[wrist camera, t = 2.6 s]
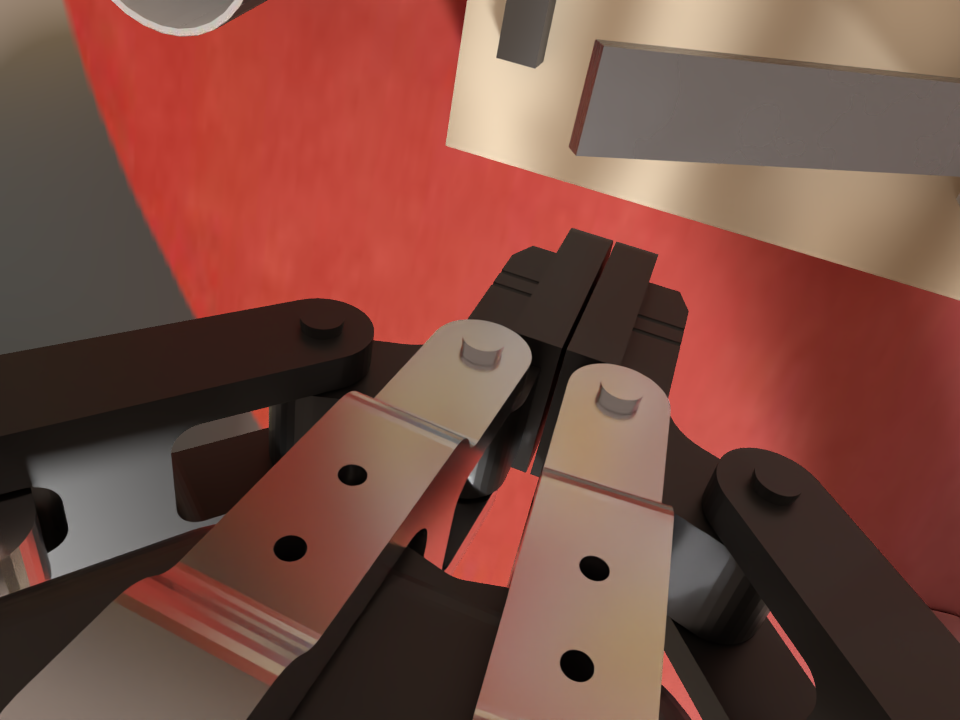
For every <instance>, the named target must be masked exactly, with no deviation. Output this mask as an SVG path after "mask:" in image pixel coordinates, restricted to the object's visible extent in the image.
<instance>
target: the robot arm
mask: <svg viewBox="0 0 960 720" xmlns="http://www.w3.org/2000/svg"><path fill="white" fill-rule="evenodd" d="M612 245H613V240H609V239H606V238H603V237H600V236H596V235H593V234H590V233H587V232H583V231H580V230H577V229H574V228H571V230H570V231H569V233H568V235H567V236H566V238H565V240H564V241H563V243H562V245H561V246H560V248H559V250H558V251H557V253H554V252H551V251H548V250H545V249H542V248H538V247H535V246H532V247H529V248H527V249H525V250H523V251H520V252H518V253H516V254H514V255H512V256H511V258H510V259H509V261H508V262H507V263H506V265H505V266H504V268H503V269H502V272H501V273H500V274H499V275H498V276H497V278H496V279H495V281H494V283H493V285H491V286H490V288H489V289H488V291H487V292H486V294H485V295H484V296H483V298H482V299H481V301H480V302H479V304H478V305H477V306H476V308H475V309H474V311H473V312H472V314H471V315H470V316H469V318H468V319H467V320H458V321H454V322H451V323H448V324H446V325H444V326H442V327H440V328H439V329H438V330H437V331H436V332H435V333H434V334H433V335H432V336H431V337H430V338H429V340H428V341H427V342H426V343H425V344H424V345H408V344H398V343H390V342H383V341H375V340H373V337H374V327H373V324H372V322H371V320H370V319H369V317H368V316H367V315H366V314H365V313H363V312H362V311H361V310H359V309H358V308H356V307H354V306H352V305H349V304H347V303H344V302H340V301H336V300H331V299H320V298H316V299H304V300H297V301H292V302H287V303H281V304H276V305H270V306H265V307H259V308H254V309H248V310H243V311H237V312H232V313H226V314H221V315H215V316H210V317H205V318H199V319H194V320H188V321H183V322H178V323H172V324H166V325H161V326H155V327H150V328H145V329H139V330H134V331H128V332H123V333H118V334H112V335H106V336H101V337H96V338H90V339H84V340H79V341H73V342H68V343H63V344H58V345H52V346H46V347H41V348H35V349H30V350H24V351H19V352H13V353H8V354H2V355H0V720H691V718H690V717H689V715H688V714H687V713H686V712H685V710H684V709H683V708H682V707H681V705H680V704H679V703H678V702H677V700H676V699H675V698H674V697H673V696H672V695H671V694H670V693H669V692H668V690H667V689H666V688H665V687H664V686H663V685H662V684H661V681H662V668H663V654H664V651H665V653H666V655H667V656H668V658H669V660H670V662H671V664H672V665H673V667H674V669H675V671H676V673H677V674H678V676H679V678H680V680H681V682H682V683H683V685H684V687H685V689H686V691H687V692H688V694H689V696H690V698H691V700H692V701H693V703H694V705H695V707H696V709H697V710H698V712H699V714H700V716H701V718H702V719H703V720H960V617H957V616H955V615H951V614H947V613H943V612H939V611H934V610H931V609H930V608H929V607H928V606H927V605H926V604H925V603H924V601H923V600H922V599H921V598H920V597H919V596H918V595H917V593H916V592H915V591H914V590H913V589H912V588H911V587H910V585H909V584H908V583H907V582H906V581H905V580H904V579H903V577H902V576H901V575H900V574H899V573H898V572H897V571H896V569H895V568H894V567H893V566H892V565H891V564H890V563H889V561H888V560H887V559H886V558H885V557H884V556H883V555H882V553H881V552H880V551H879V550H878V549H877V548H876V547H875V545H874V544H873V543H872V542H871V541H870V540H869V539H868V537H867V536H866V535H865V534H864V533H863V532H862V531H861V529H860V528H859V527H858V526H857V525H856V524H855V523H854V521H853V520H852V519H851V518H850V517H849V516H848V515H847V513H846V512H845V511H844V510H843V509H842V508H841V507H840V505H839V504H838V503H837V502H836V501H835V500H834V498H833V497H832V496H831V495H830V494H829V493H828V492H827V490H826V489H825V488H824V487H823V486H822V485H821V484H820V482H819V481H818V480H817V479H816V478H815V477H814V476H813V475H812V474H811V473H809V472H808V471H807V470H806V469H805V468H803V467H802V466H800V465H799V464H797V463H796V462H794V461H792V460H790V459H788V458H787V457H784V456H782V455H780V454H777V453H774V452H771V451H768V450H763V449H758V448H739V449H735V450H732V451H730V452H727V453H726V454H725V455H723V456H722V457H721V459H719V458H717V457H715V456H714V455H712V454H710V453H709V452H707V451H705V450H704V449H702V448H701V447H699V446H698V445H696V444H695V443H693V442H692V441H691V440H690V439H688V438H687V437H686V436H685V435H684V434H683V433H682V432H681V431H680V430H679V429H678V427H677V426H676V425H675V423H674V422H673V420H672V418H671V416H670V403H669V400H668V396H669V392H670V388H671V384H672V379H673V375H674V371H675V367H676V362H677V358H678V354H679V350H680V345H681V341H682V337H683V333H684V329H685V325H686V320H687V316H688V312H689V311H688V309H687V307H686V305H685V302H684V300H683V298H682V296H681V294H680V292H678V291H675V290H671V289H668V288H665V287H662V286H659V285H656V284H653V283H649V280H650V277H651V274H652V271H653V269H654V266H655V263H656V260H657V257H658V254H655V253H652V252H648V251H645V250H642V249H639V248H636V247H632V246H629V245H626V244H623V243H619V242H616V244H615V246H614V248H613V250H612V252H611V249H612ZM610 252H611V255H610ZM609 256H610V257H609ZM265 407H269V428H265V429H262V430H258V431H254V432H250V433H247V434H243V435H240V436H236V437H232V438H228V439H224V440H220V441H217V442H213V443H209V444H205V445H202V446H198V447H194V448H190V449H187V450H183V451H179V452H175V453H171V449H172V446H173V443H174V441H175V440H176V439H177V438H178V437H179V436H180V435H181V434H182V433H183V432H184V431H186V430H187V429H189V428H191V427H193V426H195V425H199V424H202V423H206V422H210V421H213V420H218V419H222V418H225V417H230V416H234V415H237V414H242V413H245V412H250V411H254V410H258V409H261V408H265ZM539 442H540V443H539ZM538 444H539V446H538ZM537 446H538V450H537V453H536V456H535V460H534V463H533V467H532V470H531V473H530V474H532V475H535V476H537V477H539V480H538V483H537V487H536V490H535V493H534V496H533V500H532V503H531V506H530V509H529V513H528V516H527V519H526V523H525V526H524V530H523V533H522V537H521V540H520V543H519V547H518V550H517V554H516V557H515V561H514V564H513V568H512V571H511V574H510V578H509V581H508V585H507V587H501V586H495V585H489V584H483V583H477V582H471V581H465V580H461V579H457V578H455V577H452V574H453V572H454V571H455V569H456V567H457V566H458V564H459V562H460V561H461V559H462V557H463V556H464V554H465V552H466V550H467V549H468V547H469V545H470V544H471V542H472V540H473V539H474V537H475V535H476V534H477V532H478V530H479V528H480V527H481V525H482V523H483V522H484V520H485V518H486V517H487V515H488V513H489V512H490V510H491V508H492V506H493V504H494V502H495V498H496V495H497V491H498V488H499V487H500V486H501V485H502V484H503V482H504V480H505V478H506V476H507V474H508V472H509V470H510V467H512V468H515V469H518V470H520V471H523V472H526V471H527V469H528V467H529V465H530V462H531V460H532V458H533V455H534V453H535V451H536V449H537ZM770 611H771V613H772V614H773V616H774V617H775V619H776V620H777V621H778V623H779V624H780V626H781V627H782V629H783V630H784V631H785V633H786V634H787V636H788V637H789V639H790V640H791V641H792V643H793V644H794V646H795V647H796V649H797V650H798V652H799V653H800V654H801V656H802V657H803V659H804V660H805V662H806V663H807V665H808V667H809V669H810V671H811V673H812V676H813V678H814V682H815V686H816V688H815V686H814V685H813V683H812V682H811V681H810V679H809V678H808V676H807V675H806V673H805V672H804V670H803V669H802V667H801V666H800V665H799V663H798V662H797V660H796V659H795V657H794V656H793V654H792V653H791V651H790V650H789V649H788V647H787V646H786V644H785V643H784V641H783V640H782V638H781V637H780V635H779V634H778V633H777V631H776V630H775V628H774V627H773V625H772V624H771V622H770V621H769V619H768V618H767V615H768V613H769V612H770Z"/></svg>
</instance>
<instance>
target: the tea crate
mask: <svg viewBox="0 0 960 720" xmlns="http://www.w3.org/2000/svg"><path fill="white" fill-rule="evenodd" d="M595 39H600V40H609V41H619V42H628V43H637V44H647V45H656V46H665V47H675V48H684V49H693V50H703V51H712V52H721V53H731V54H740V55H749V56H759V57H768V58H777V59H787V60H796V61H805V62H815V63H824V64H833V65H843V66H852V67H861V68H871V69H880V70H889V71H899V72H908V73H917V74H927V75H936V76H945V77H954V78H960V0H467V5H466V12H465V18H464V25H463V32H462V39H461V45H460V52H459V59H458V65H457V72H456V79H455V86H454V92H453V99H452V106H451V113H450V119H449V126H448V133H447V139H446V146H449V147H452V148H455V149H459V150H462V151H465V152H469V153H472V154H475V155H479V156H482V157H485V158H488V159H492V160H495V161H498V162H502V163H505V164H508V165H512V166H515V167H518V168H522V169H525V170H528V171H532V172H535V173H538V174H542V175H545V176H548V177H552V178H555V179H558V180H561V181H565V182H568V183H571V184H575V185H578V186H581V187H585V188H588V189H591V190H595V191H598V192H601V193H605V194H608V195H611V196H615V197H618V198H621V199H625V200H628V201H631V202H634V203H638V204H641V205H644V206H648V207H651V208H654V209H658V210H661V211H664V212H668V213H671V214H674V215H678V216H681V217H684V218H688V219H691V220H694V221H698V222H701V223H704V224H707V225H711V226H714V227H717V228H721V229H724V230H727V231H731V232H734V233H737V234H741V235H744V236H747V237H751V238H754V239H757V240H761V241H764V242H767V243H771V244H774V245H777V246H781V247H784V248H787V249H790V250H794V251H797V252H800V253H804V254H807V255H810V256H814V257H817V258H820V259H824V260H827V261H830V262H834V263H837V264H840V265H844V266H847V267H850V268H854V269H857V270H860V271H863V272H867V273H870V274H873V275H877V276H880V277H883V278H887V279H890V280H893V281H897V282H900V283H903V284H907V285H910V286H913V287H917V288H920V289H923V290H927V291H930V292H933V293H936V294H940V295H943V296H946V297H950V298H953V299H956V300H960V177H955V176H937V175H918V174H900V173H881V172H863V171H845V170H826V169H808V168H789V167H771V166H753V165H734V164H716V163H697V162H679V161H661V160H642V159H624V158H605V157H587V156H576V155H575V154H574V153H573V152H572V151H571V149H570V148H569V143H570V139H571V135H572V131H573V127H574V123H575V119H576V115H577V111H578V107H579V103H580V99H581V95H582V91H583V87H584V83H585V79H586V75H587V71H588V67H589V62H590V58H591V54H592V50H593V46H594V42H595Z"/></svg>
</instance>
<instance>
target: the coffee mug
mask: <svg viewBox="0 0 960 720" xmlns="http://www.w3.org/2000/svg"><path fill="white" fill-rule="evenodd" d="M112 1H113V2H114V3H115V4H116V5H117V6H118V7H119V8H120V9H122V10H123V11H124V12H125V13H126V14H127V15H129V16H130V17H132V18H133V19H135V20H137V21H138V22H140V23H141V24H143V25H144V26H147V27H149V28H151V29H154V30H156V31H158V32H161V33H164V34H170V35H175V36H198V35H201V34H204V33H207V32H210V31H212V30H215V29H217V28H218V27H220V26H222V25H224V24H226V23H227V22H229V21H231V20H233V19H235V18H236V17H238V16H240V15H242V14H244V13H245V12H247V11H249V10H251V9H253V8H254V7H256V6H258V5H260V4H262V3H263V2H265V1H267V0H112Z"/></svg>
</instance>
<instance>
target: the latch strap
mask: <svg viewBox="0 0 960 720" xmlns="http://www.w3.org/2000/svg"><path fill="white" fill-rule="evenodd" d="M569 148H570V149H571V151H572V152H573V153H574V154H575V155H576V156H587V157H605V158H624V159H642V160H661V161H679V162H697V163H716V164H734V165H753V166H771V167H789V168H808V169H826V170H845V171H863V172H881V173H900V174H918V175H937V176H955V177H960V78H954V77H945V76H936V75H927V74H917V73H908V72H899V71H889V70H880V69H871V68H861V67H852V66H843V65H833V64H824V63H815V62H805V61H796V60H787V59H777V58H768V57H759V56H749V55H740V54H731V53H721V52H712V51H703V50H693V49H684V48H675V47H665V46H656V45H647V44H637V43H628V42H619V41H609V40H600V39H595V42H594V46H593V50H592V54H591V58H590V62H589V67H588V71H587V75H586V79H585V83H584V87H583V91H582V95H581V99H580V103H579V107H578V111H577V115H576V119H575V123H574V127H573V131H572V135H571V139H570V143H569Z"/></svg>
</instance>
